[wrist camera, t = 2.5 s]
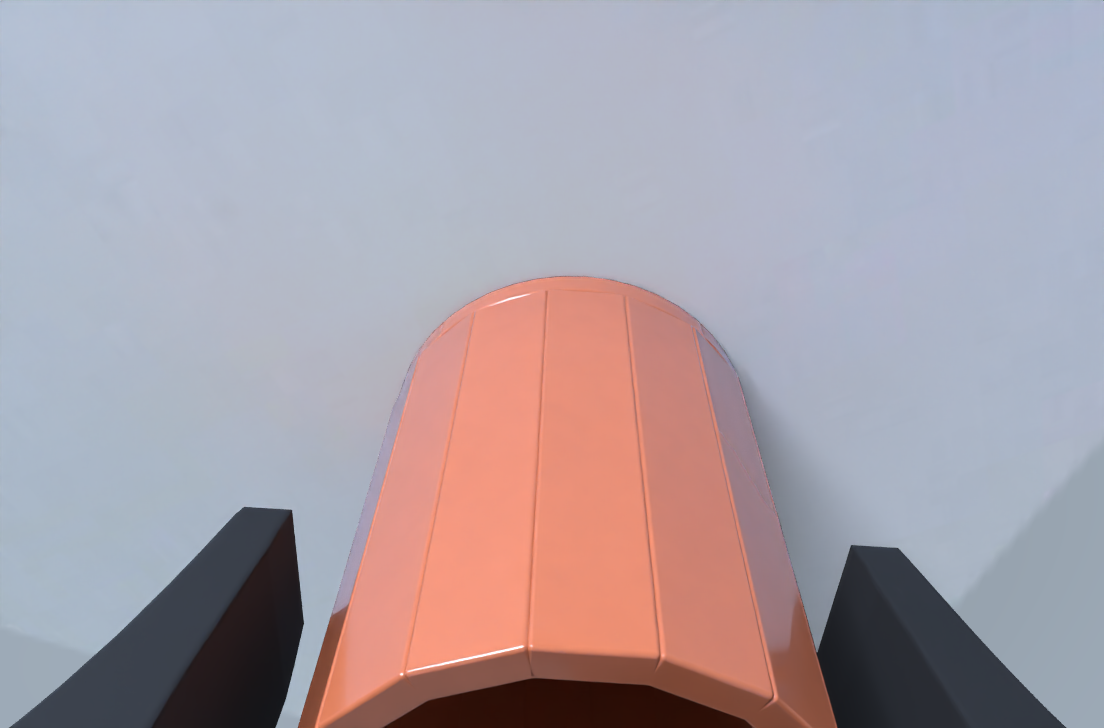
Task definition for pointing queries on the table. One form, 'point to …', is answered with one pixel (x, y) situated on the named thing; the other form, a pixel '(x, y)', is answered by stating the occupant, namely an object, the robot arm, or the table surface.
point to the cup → (569, 534)
